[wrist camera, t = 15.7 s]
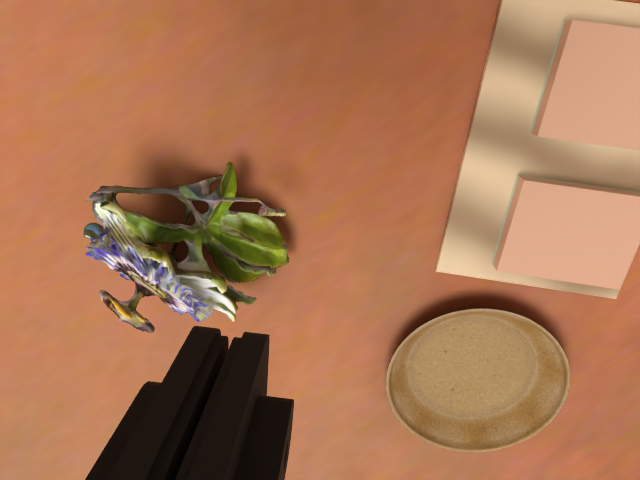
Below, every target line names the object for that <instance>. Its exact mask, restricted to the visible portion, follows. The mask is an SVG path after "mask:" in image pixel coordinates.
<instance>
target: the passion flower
mask: <svg viewBox="0 0 640 480" xmlns="http://www.w3.org/2000/svg"><path fill="white" fill-rule="evenodd" d="M220 179H222V180H221V181H220V183H219V186H218V188H217V189H216V190H215V192H214V193H212V194H211V195H209V194H210V189H209V185H210V184H212V183H214V182H216V181H218V180H220ZM122 192H123V193H137V194H143V193H145V194H146V193H148V194H168V195H172V196H174V197H175V198H177V199H179V200H180V201H181V202H182V203H184V204H185V206H186V214H185V217H184V221H183V224H169V223H163V222H160V221H158V220H155V219H153V218H151V217H147V216H144V215H142V214H140V213H139V212H129V211H127V210H125V209H123V208H122V207H121V206H120V205H119V204H118V202H117V200H116V194H117V193H122ZM236 192H237V176H236V172H235V169H234V167H233V164H232V162H229V163H228V164H227V168H226V170H225V172H224V175H220V176H218V177H212V178H209V179H206V180H203V181H200V182H198V183H194V184H189V185H177V186H175V187H173V188H132V187H122V186H117V185H116V186H101V187H100V189H98V191H96V192H94V193H92V194H91V196H90V198H87V199H86V200H85V201H93V204H92V211H93V213H94V215H95V218H96V220H98V221H100V222H101V223H102V224H103V225H104V228H103V227H102V226H101V225H99V224H97V223H90V224H88V225H86V226H85V227H84V234H83V235H84V237H86V238H89V239H90V240H91V241H92V242H91V243H90V246H91V247H88V246H87V247H86V249H88V250H91V251H90V252H88V253H86V255H87V256H91V257H94V259H95V260H100V261H103V262H105V263H106V264H107V265H108V266H109V268H111V269H113V270H115V271H117V272H119V273H120V275H121V277H123V278H125V279H127V280H132V281H133V282H135V285H136V290H135V294H134V296H133V297H132V298H131V299H130V300H128V301H126V302H122V301H118V300H117V299H115V298H114V297H112V296H111V295H110V294H109V293H108V292H106V291H104V290H101V291H100V292H99V295H100V299H101V300H103V301H104V303H105V304H106V306H107V307H108V308H109V309H111V310H112V311H113V312H114V313H115V314H116V315H117V316H118V318H119V321H123V322H126V323H129V324H130V325H132V326H133V327H135V328H136V329H139V330H141V331H147V332H149V333H152V332H154V330H155V329H154V326H153V325H152V324H151V323H150V322H149V321H148V320H147V319H146V318H144V317H142V316H141V315H140V314H139V313H138V312H137V311H136V307H137V304H138V302H139V300H140V299H141V298H142V297H144V296H151V295H157V296H159V297H160V299H161V300H162V301H163V302H164V303H165V304H167V305H168V306H170V307H171V308H172V309H173V310H174V311H175V312H178V313H179V314H183V313H188V314H189V315H191V316H192V318H193V319H194V320H196V321H198V322H199V321H201V322H202V321H203V320H204V319H208V318H209V316H211V317H212V309H213V308H214V309H216V310H219V311H221V312H224V313H226V314H227V315H228V316H229V318H230V319H231V320H232V321H235V319H236V316H235V313H236V310H237V309H238V306H237V305H236V302H242V303H243V304H246V305H249V304H253V303H254V302H255V301H256V298H255V297H250V296H246V295H244V294H243V293H242V292H240V291H237V290H235V289H234V288H233V287H232V286H229V285H227V284H226V281H225V279H224V278H226V279H227V280H228V281H230V282H232V283H235V282H239V283H240V282H249V281H253V280H255V279H258V277H260V276H261V275H262V274H263V273H265V272H266V273H267V274H268V275H269V276H272V275H274V274H275V273H276V267H280V266H283V265H285V264H287V263H288V262H289V257H288V254H287V245H286V243H285V242H284V240H283V238H282V235H281V233H280V231H279V230H278V228H277V226H276V225H275V223H274V222H273V221H271V220H270V219H268V218H266V217H264V216H281V217H282V216H286V211H285V210H284V209H282V208H279V209H271V208H269V207H267V206H266V205H265V204H264V203H263V202H261V201H260V200H259V199H257V198H247V197H245V198H244V197H235V195H236ZM208 195H209V196H208ZM194 200H201V201H205V202H207V203H208V205H209V210H208V211H207V212H206V213H204V214H201V213H199V212H198V211H197V210H196V208H195V206H194V204H193V203H194ZM236 201H243V202H259V203H261V204H262V205H263V206H261V207H260V209H259V211H258V214H255V213H248V212H238V211H230V210H229V207H230V206H231V205H232V204H233V203H234V202H236ZM190 214H193V215H194V217H195V223H194V224H193V225H190V226H187V225H185V224H186V222H187V219H188V217H189V215H190ZM180 241H184V242H185V243H186V244H187V246H188V248H189V254H188V256H187V258H186V259H185V260H183V261H182V262H181V261H180V260H179V259H178V258H176V257H175V256H174V254H175V251H176V249H177V247H178V244H179V242H180ZM154 243H175V244H174V246H173V248H172V250H171V252H170V253H168V252H167V251H166V250H165V249H163V248H159V247H158V246H157V245H156V244H154ZM202 245H205V247H206V249H207V251H208V252H209V253H211V254H212V256H213V260H214V262H215V264H216V266H217V268H218V270H219V271H220V273H221V275H222V276H223V277H221V276H219V275H217V274H215V273H213V272H212V270H211V269H210V268H209V266H208V264H207V262H206V260H205V259H204V257H203V254H202Z"/></svg>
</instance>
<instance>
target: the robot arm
mask: <svg viewBox="0 0 640 480" xmlns="http://www.w3.org/2000/svg"><path fill="white" fill-rule="evenodd" d="M268 358H269V335H267V334H259V333H250V332H244V334H243V336H242V338H237V337H234V338H233V340H232V343H231V345H230V348H229V350H228V337H227V336H221V332H220V329H217V328H209V327H201V326H194V327H193V328H192V330H191V332H190V333H189V335H188V337H187V339H186V340H185V342H184V344H183V346H182V348H181V349H180V351H179V353H178V355H177V356H176V358H175V360H174V362H173V364H172V365H171V367H170V369H169V371H168V372H167V374H166V376H165V378H164V379H163V381H162V383H158V382H150V381H148V382H147V383H145V384H144V385H143V387H142V388H141V389H140V391H139V393H138V394H137V396H136V397H135V399H134V401H133V402H132V404H131V406H130V407H129V409H128V411H127V412H126V414H125V415H124V417H123V419H122V420H121V422H120V424H119V425H118V427H117V429H116V430H115V432H114V433H113V435H112V437H111V438H110V440H109V442H108V443H107V445H106V446H105V448H104V450H103V451H102V453H101V455H100V456H99V458H98V460H97V461H96V463H95V464H94V466H93V468H92V469H91V471H90V473H89V474H88V476H87V478H86V479H85V480H284V479H285V473H286V467H287V461H288V455H289V447H290V440H291V431H292V421H293V409H294V400H293V399H286V398H278V397H270V396H267V378H268Z"/></svg>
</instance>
